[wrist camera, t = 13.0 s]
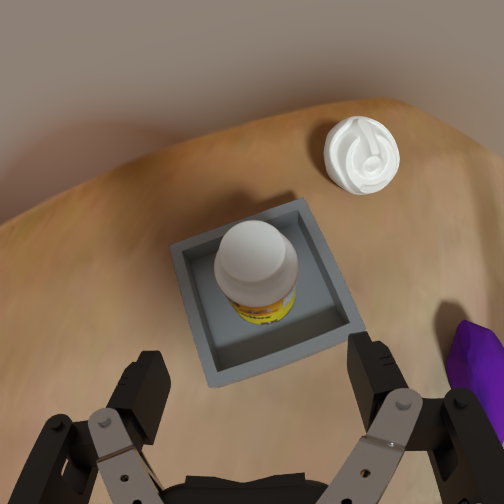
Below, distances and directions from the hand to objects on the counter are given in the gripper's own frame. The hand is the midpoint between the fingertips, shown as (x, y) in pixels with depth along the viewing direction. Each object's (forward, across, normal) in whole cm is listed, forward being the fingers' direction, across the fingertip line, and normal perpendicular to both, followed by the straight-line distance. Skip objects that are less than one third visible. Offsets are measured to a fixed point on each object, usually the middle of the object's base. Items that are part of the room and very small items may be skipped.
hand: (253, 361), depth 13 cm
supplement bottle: (+14, 0, +5) cm, 15 cm away
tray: (+15, 0, +5) cm, 16 cm away
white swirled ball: (+24, -11, -3) cm, 27 cm away
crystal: (+6, -19, +15) cm, 25 cm away
